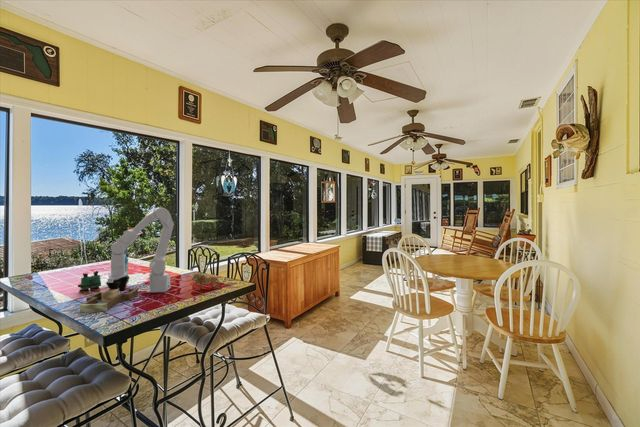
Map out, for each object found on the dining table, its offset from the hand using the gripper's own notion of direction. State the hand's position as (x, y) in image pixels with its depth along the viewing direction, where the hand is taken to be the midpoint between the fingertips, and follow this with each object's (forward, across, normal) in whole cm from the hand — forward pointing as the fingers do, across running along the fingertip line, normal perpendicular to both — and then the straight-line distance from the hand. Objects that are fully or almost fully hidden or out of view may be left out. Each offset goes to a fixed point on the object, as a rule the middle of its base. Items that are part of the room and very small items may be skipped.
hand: (118, 293), depth 144 cm
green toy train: (+2, -10, -19) cm, 22 cm away
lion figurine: (+2, -8, +40) cm, 41 cm away
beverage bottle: (+2, -24, -11) cm, 26 cm away
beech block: (+1, +7, 0) cm, 7 cm away
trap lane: (+1, +7, 0) cm, 7 cm away
